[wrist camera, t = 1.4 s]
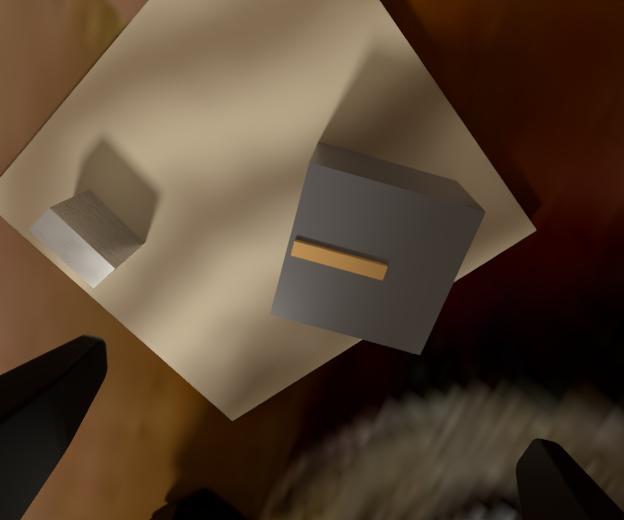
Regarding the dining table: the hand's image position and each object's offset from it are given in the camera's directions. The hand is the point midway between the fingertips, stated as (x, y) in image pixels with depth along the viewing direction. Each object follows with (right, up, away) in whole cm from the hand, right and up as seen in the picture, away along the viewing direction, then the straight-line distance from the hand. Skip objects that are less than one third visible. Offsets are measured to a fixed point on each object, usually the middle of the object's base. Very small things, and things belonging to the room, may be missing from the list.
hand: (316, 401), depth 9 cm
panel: (-3, +6, +12) cm, 14 cm away
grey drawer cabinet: (+2, +5, +11) cm, 12 cm away
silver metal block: (-10, +5, +12) cm, 17 cm away
